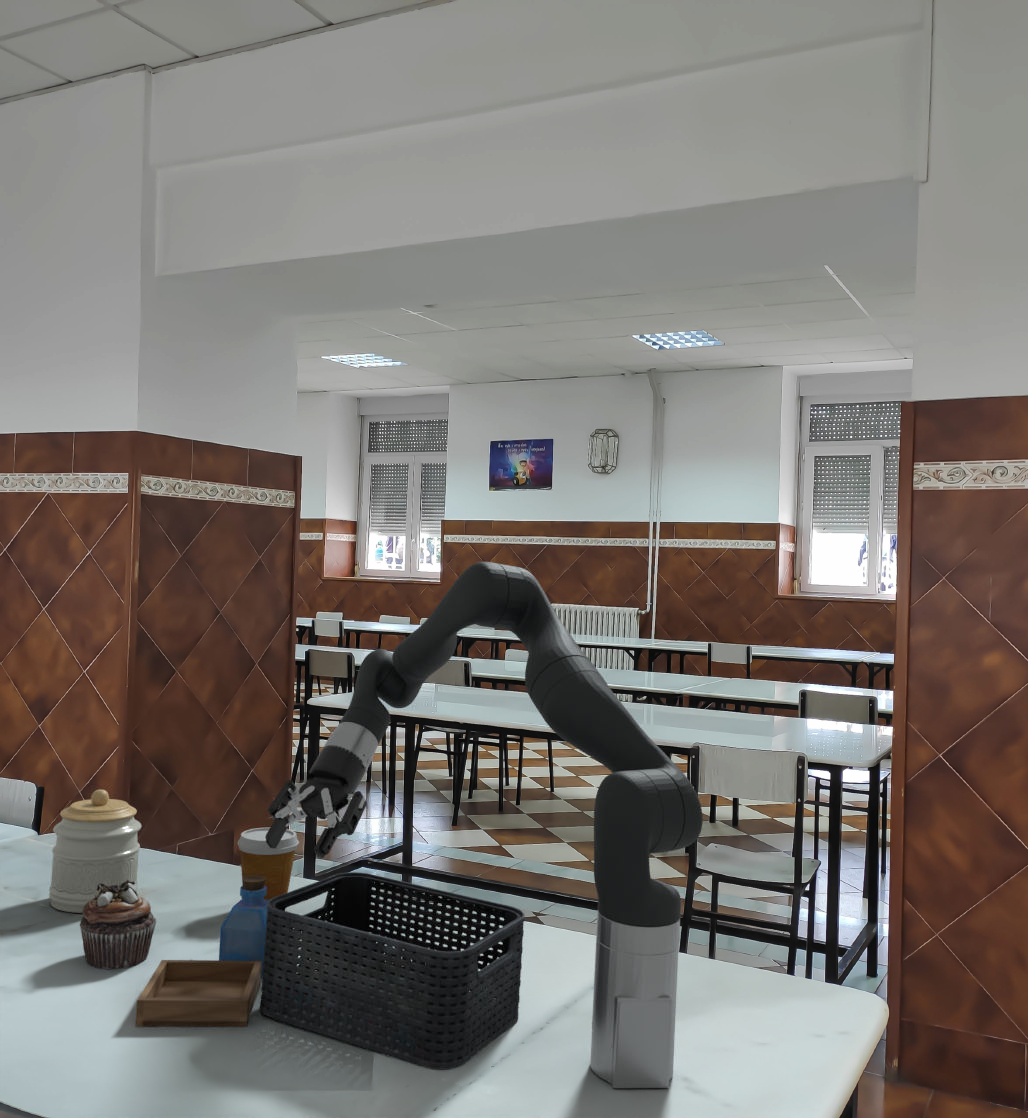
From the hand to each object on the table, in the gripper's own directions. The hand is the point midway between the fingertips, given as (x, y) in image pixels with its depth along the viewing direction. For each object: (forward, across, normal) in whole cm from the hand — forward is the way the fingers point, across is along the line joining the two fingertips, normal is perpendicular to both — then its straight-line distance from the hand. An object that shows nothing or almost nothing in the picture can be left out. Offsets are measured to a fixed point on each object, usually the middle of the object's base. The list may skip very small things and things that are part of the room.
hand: (293, 850), depth 144 cm
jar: (+10, -38, +10) cm, 41 cm away
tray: (+24, +3, -5) cm, 25 cm away
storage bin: (+18, +24, +3) cm, 30 cm away
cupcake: (+21, -17, -1) cm, 27 cm away
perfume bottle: (+16, 0, +4) cm, 17 cm away
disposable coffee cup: (+2, -14, +18) cm, 23 cm away
